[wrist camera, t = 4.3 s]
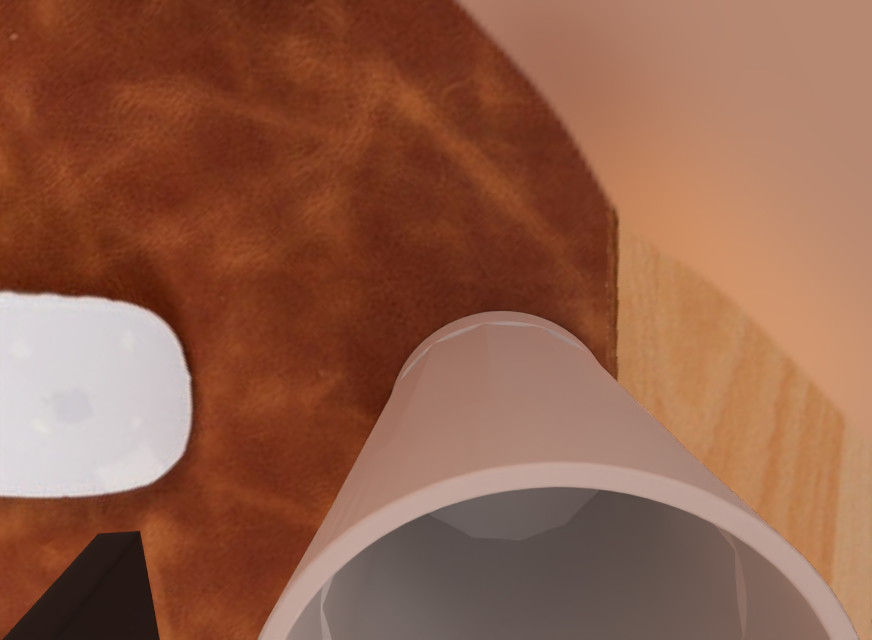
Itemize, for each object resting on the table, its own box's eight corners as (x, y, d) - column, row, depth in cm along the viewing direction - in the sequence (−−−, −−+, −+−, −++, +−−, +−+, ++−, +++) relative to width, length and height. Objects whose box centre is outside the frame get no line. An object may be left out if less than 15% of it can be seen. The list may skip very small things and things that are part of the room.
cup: (490, 599, 22) (525, 1095, 11) (301, 412, 21) (106, 737, 9) (703, 429, 21) (1012, 784, 9) (512, 219, 20) (588, 320, 8)
